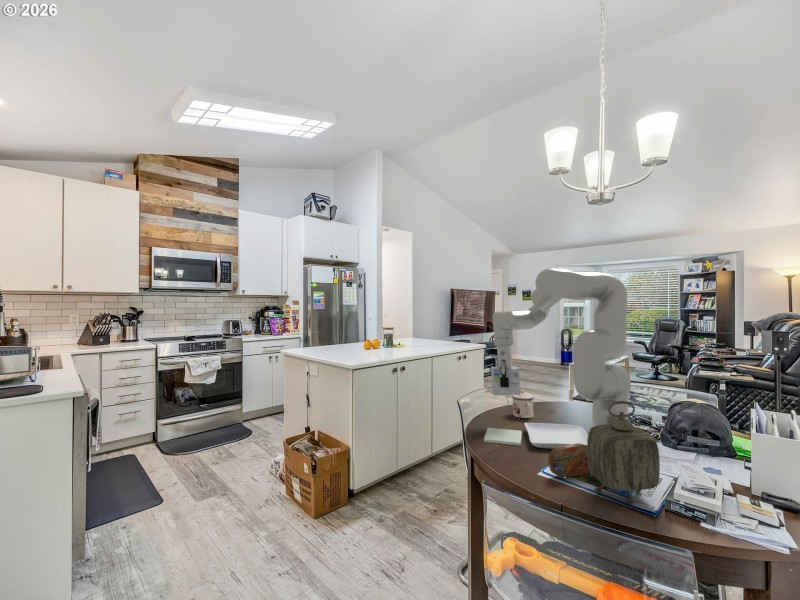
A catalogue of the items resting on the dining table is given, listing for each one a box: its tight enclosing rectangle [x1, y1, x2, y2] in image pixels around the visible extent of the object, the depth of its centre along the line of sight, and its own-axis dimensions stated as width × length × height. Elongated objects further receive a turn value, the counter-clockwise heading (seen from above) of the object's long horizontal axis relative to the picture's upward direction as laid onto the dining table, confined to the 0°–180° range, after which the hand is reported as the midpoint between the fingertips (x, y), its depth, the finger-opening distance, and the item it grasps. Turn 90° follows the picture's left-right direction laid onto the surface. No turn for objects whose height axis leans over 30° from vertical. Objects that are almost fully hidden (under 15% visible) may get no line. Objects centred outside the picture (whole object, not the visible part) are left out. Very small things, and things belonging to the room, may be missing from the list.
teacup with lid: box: [511, 389, 534, 419], centre depth 166 cm, size 12×9×12 cm
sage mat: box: [483, 427, 523, 446], centre depth 142 cm, size 13×13×1 cm
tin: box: [547, 443, 591, 479], centre depth 111 cm, size 15×3×8 cm, turn 106°
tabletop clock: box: [587, 401, 661, 504], centre depth 97 cm, size 14×9×25 cm, turn 92°
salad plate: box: [523, 422, 588, 450], centre depth 137 cm, size 21×21×3 cm
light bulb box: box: [490, 365, 521, 396], centre depth 153 cm, size 11×7×11 cm, turn 84°
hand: (505, 384), depth 153 cm, fingers closed on light bulb box, 7 cm apart
